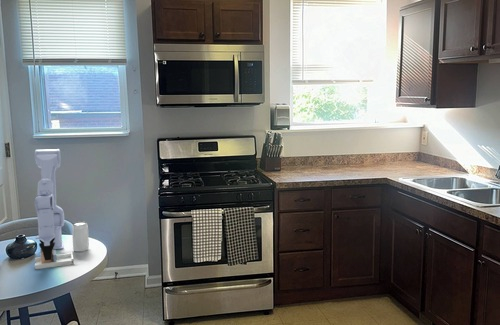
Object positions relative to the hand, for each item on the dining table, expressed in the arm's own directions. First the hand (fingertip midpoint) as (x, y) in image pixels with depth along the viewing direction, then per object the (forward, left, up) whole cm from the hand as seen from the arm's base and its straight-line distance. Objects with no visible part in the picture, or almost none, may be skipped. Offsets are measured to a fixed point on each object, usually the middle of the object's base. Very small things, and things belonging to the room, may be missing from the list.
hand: (48, 257), depth 175 cm
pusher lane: (0, +2, -2) cm, 3 cm away
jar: (0, 0, -2) cm, 2 cm away
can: (-12, +13, -3) cm, 18 cm away
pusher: (0, +2, -2) cm, 4 cm away
